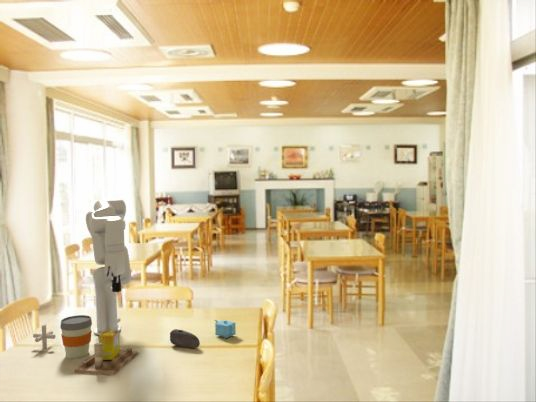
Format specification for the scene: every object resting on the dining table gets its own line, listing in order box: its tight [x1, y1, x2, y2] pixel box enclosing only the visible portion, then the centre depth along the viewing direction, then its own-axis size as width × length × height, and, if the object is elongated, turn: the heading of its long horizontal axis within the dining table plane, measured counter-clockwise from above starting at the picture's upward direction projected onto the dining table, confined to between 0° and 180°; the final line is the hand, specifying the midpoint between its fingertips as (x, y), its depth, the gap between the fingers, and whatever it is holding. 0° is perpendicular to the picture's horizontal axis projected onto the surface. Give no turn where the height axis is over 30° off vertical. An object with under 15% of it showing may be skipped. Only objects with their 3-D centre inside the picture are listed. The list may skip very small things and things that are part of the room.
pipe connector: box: [32, 324, 56, 349], centre depth 217 cm, size 10×10×10 cm
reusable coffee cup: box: [60, 314, 93, 359], centre depth 208 cm, size 13×13×15 cm
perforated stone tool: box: [169, 328, 201, 349], centre depth 215 cm, size 15×5×7 cm, turn 60°
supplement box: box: [98, 330, 120, 361], centre depth 199 cm, size 6×6×11 cm
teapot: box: [214, 319, 236, 339], centre depth 229 cm, size 12×6×8 cm, turn 52°
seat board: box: [74, 342, 140, 376], centre depth 198 cm, size 22×16×10 cm
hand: (116, 291), depth 206 cm, fingers closed
